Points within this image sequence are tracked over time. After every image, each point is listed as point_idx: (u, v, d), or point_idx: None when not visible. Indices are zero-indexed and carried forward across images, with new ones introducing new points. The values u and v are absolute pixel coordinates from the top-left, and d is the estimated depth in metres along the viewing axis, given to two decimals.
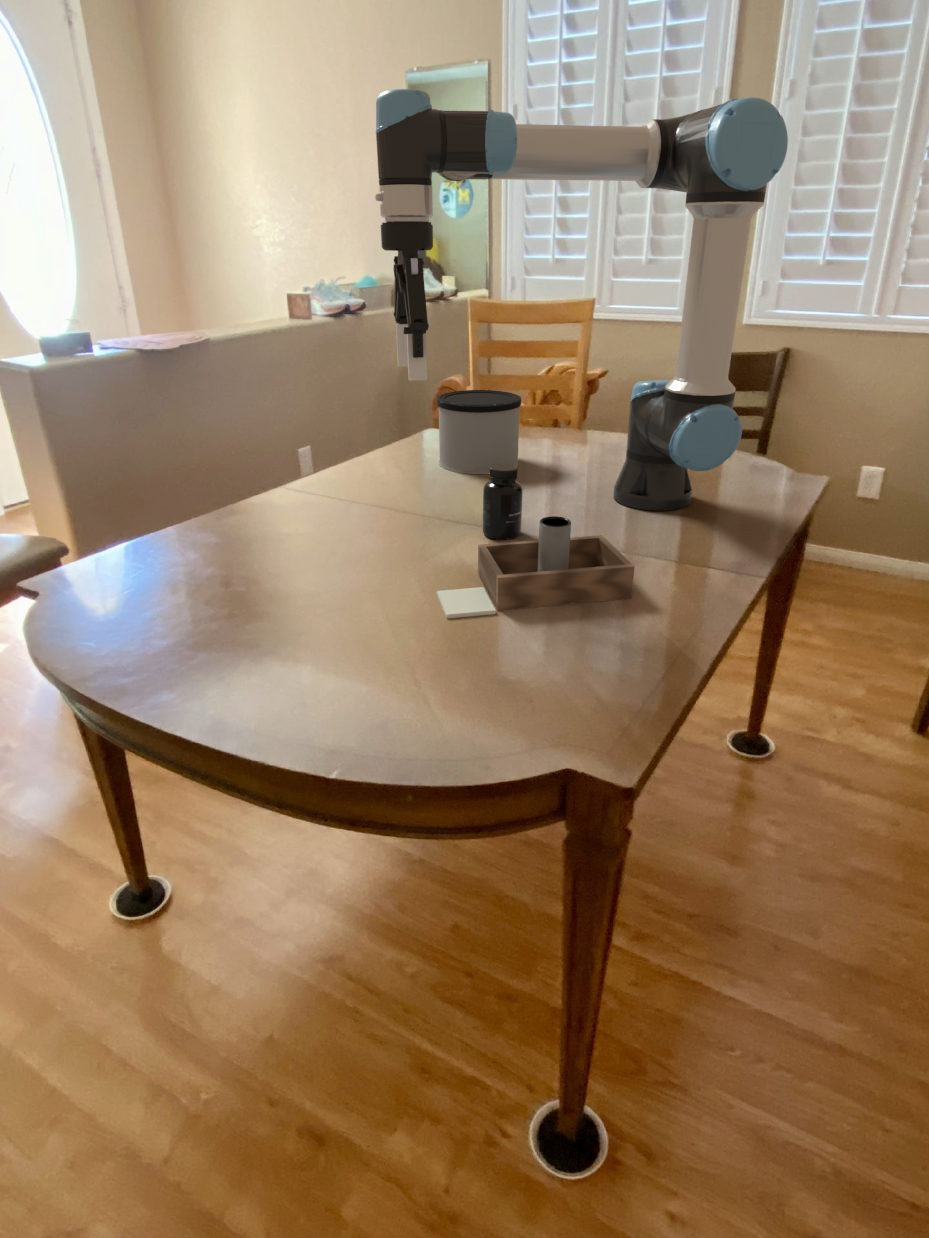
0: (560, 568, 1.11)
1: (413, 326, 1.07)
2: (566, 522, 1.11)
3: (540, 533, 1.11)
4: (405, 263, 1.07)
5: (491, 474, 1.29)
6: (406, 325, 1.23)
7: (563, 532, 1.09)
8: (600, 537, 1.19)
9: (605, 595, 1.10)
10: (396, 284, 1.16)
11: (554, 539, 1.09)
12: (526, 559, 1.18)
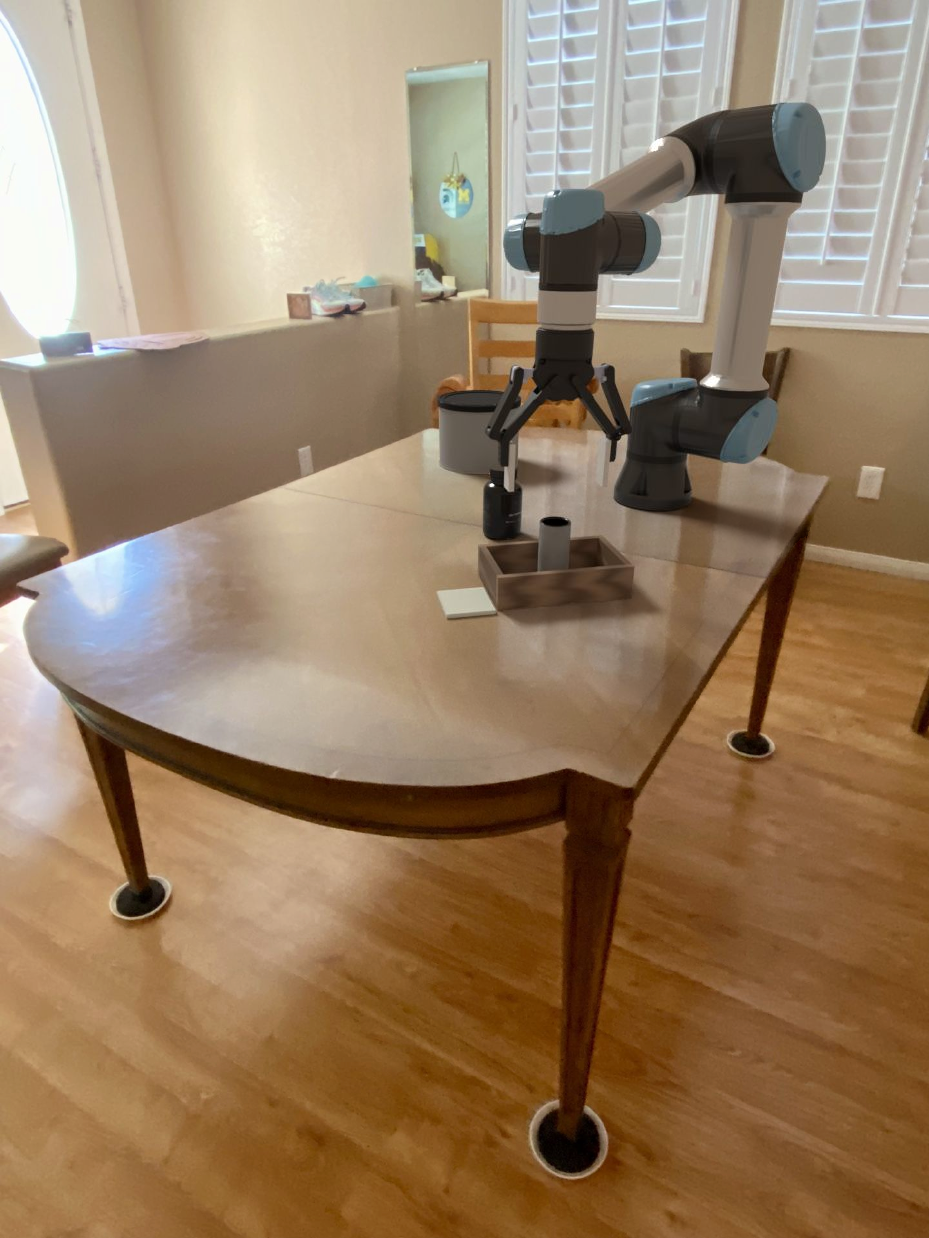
0: (560, 568, 1.11)
1: (485, 432, 1.03)
2: (566, 522, 1.11)
3: (540, 533, 1.11)
4: None
5: (491, 474, 1.29)
6: (603, 440, 1.06)
7: (563, 532, 1.09)
8: (600, 537, 1.19)
9: (605, 595, 1.10)
10: None
11: (554, 539, 1.09)
12: (526, 559, 1.18)
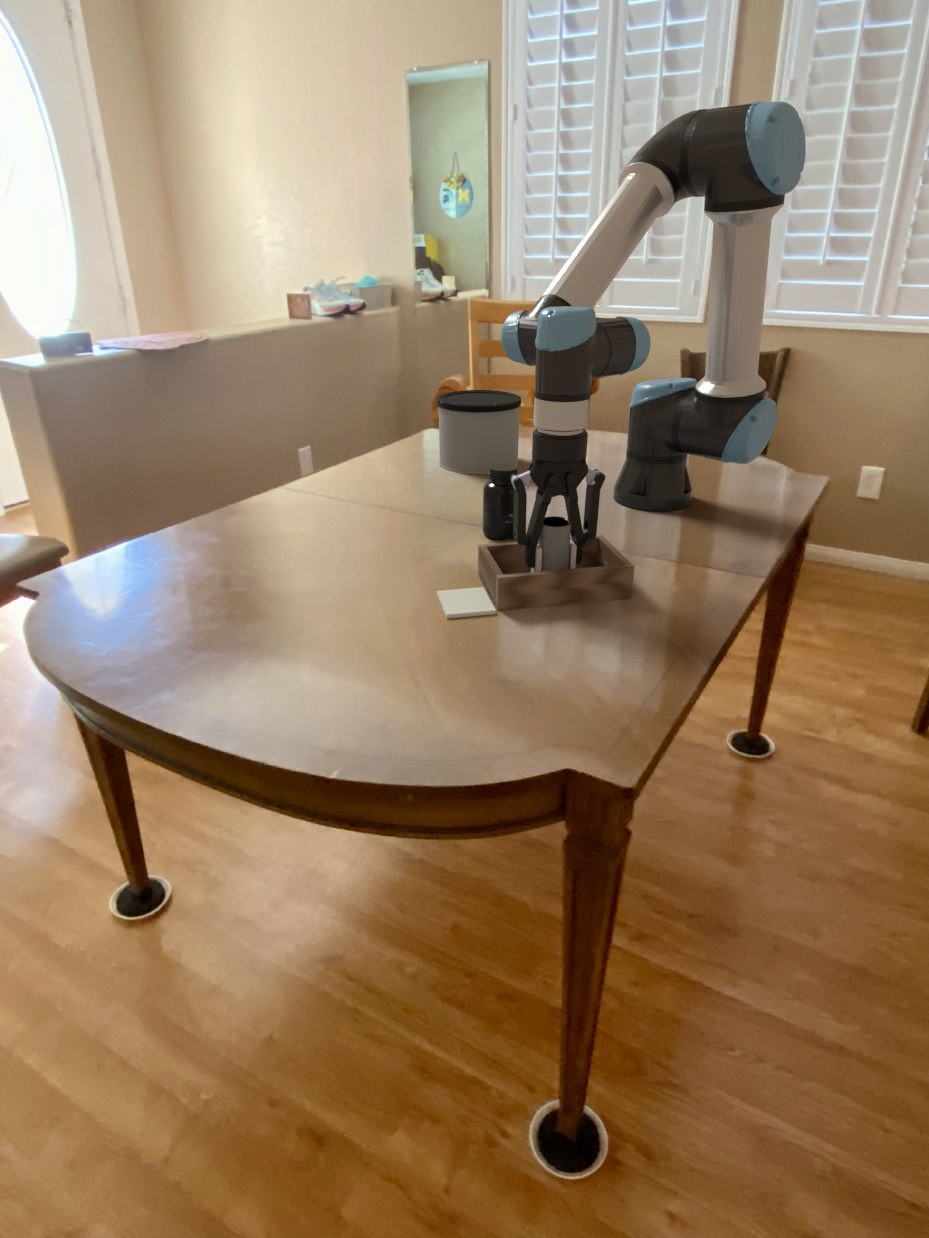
0: (560, 568, 1.11)
1: (514, 538, 1.11)
2: (566, 522, 1.11)
3: None
4: None
5: (491, 474, 1.29)
6: None
7: (563, 532, 1.09)
8: (600, 537, 1.19)
9: (605, 595, 1.10)
10: None
11: (554, 539, 1.09)
12: None
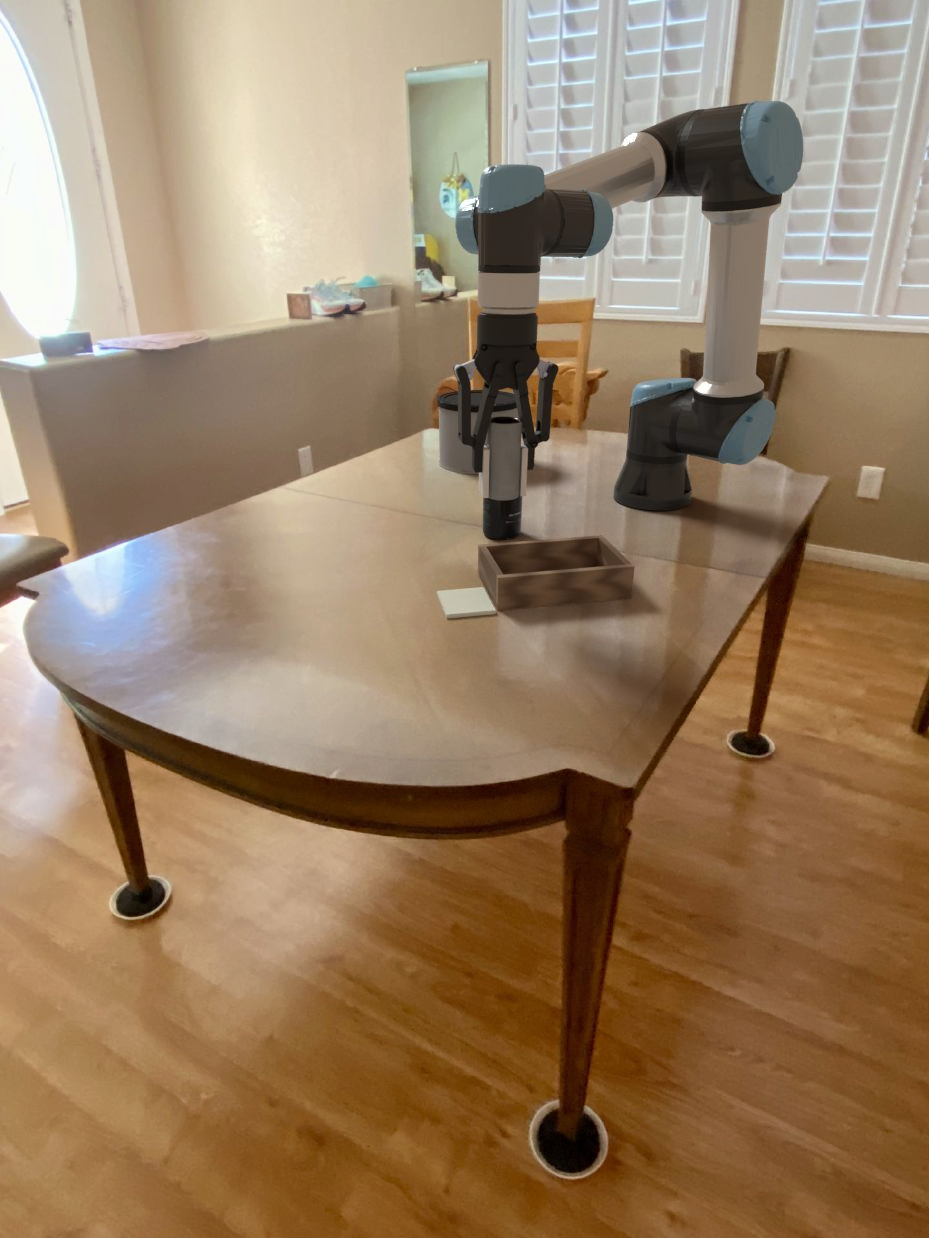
0: (510, 473, 1.01)
1: (459, 438, 1.01)
2: (517, 422, 1.01)
3: (488, 433, 1.00)
4: None
5: None
6: None
7: (513, 431, 0.99)
8: (600, 537, 1.19)
9: (605, 595, 1.10)
10: None
11: (503, 438, 0.99)
12: (526, 559, 1.18)
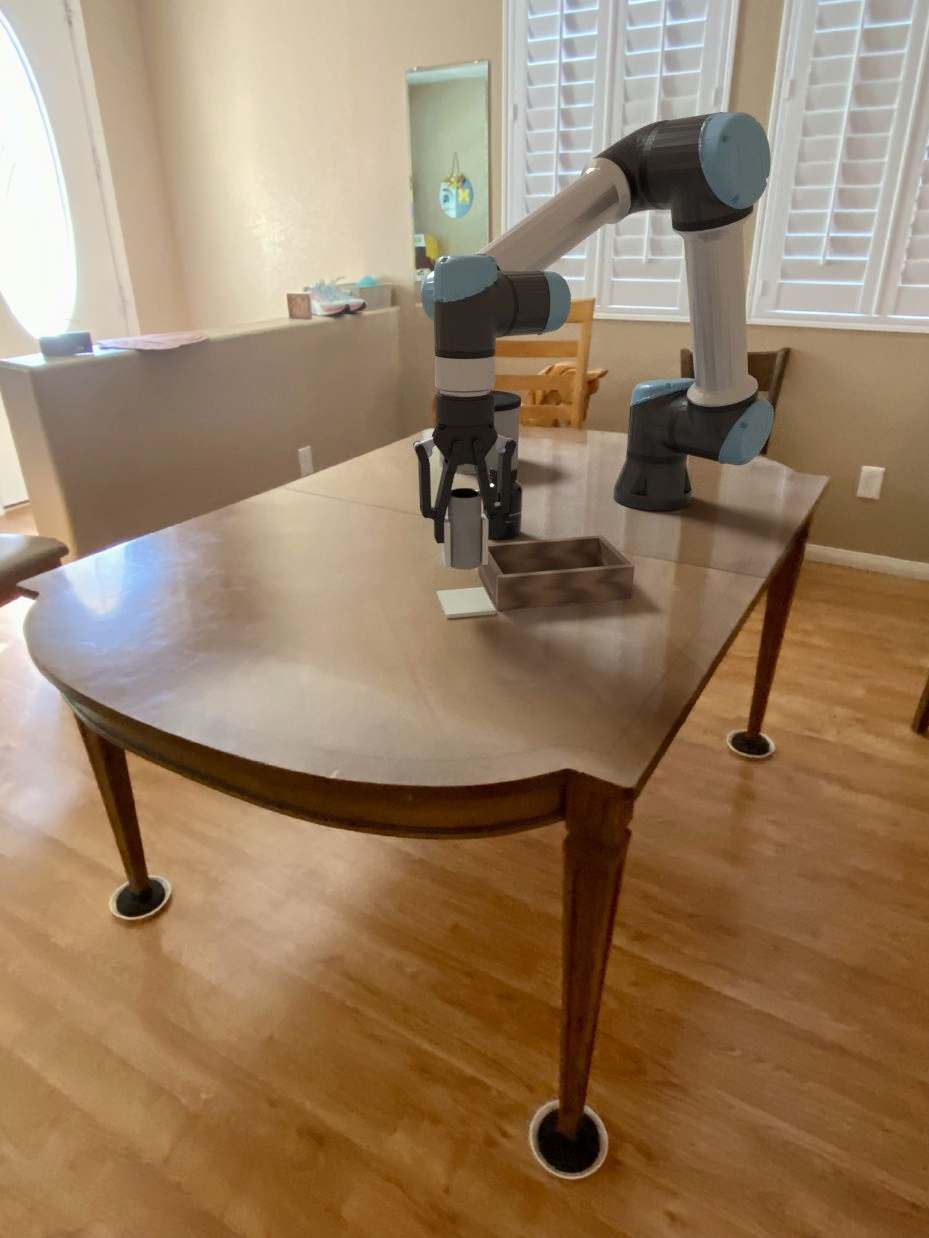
0: (470, 544, 1.03)
1: (421, 511, 1.03)
2: (477, 494, 1.03)
3: (448, 505, 1.02)
4: None
5: (491, 474, 1.29)
6: (481, 518, 1.04)
7: (472, 504, 1.01)
8: (600, 537, 1.19)
9: (605, 595, 1.10)
10: None
11: (462, 511, 1.01)
12: (526, 559, 1.18)
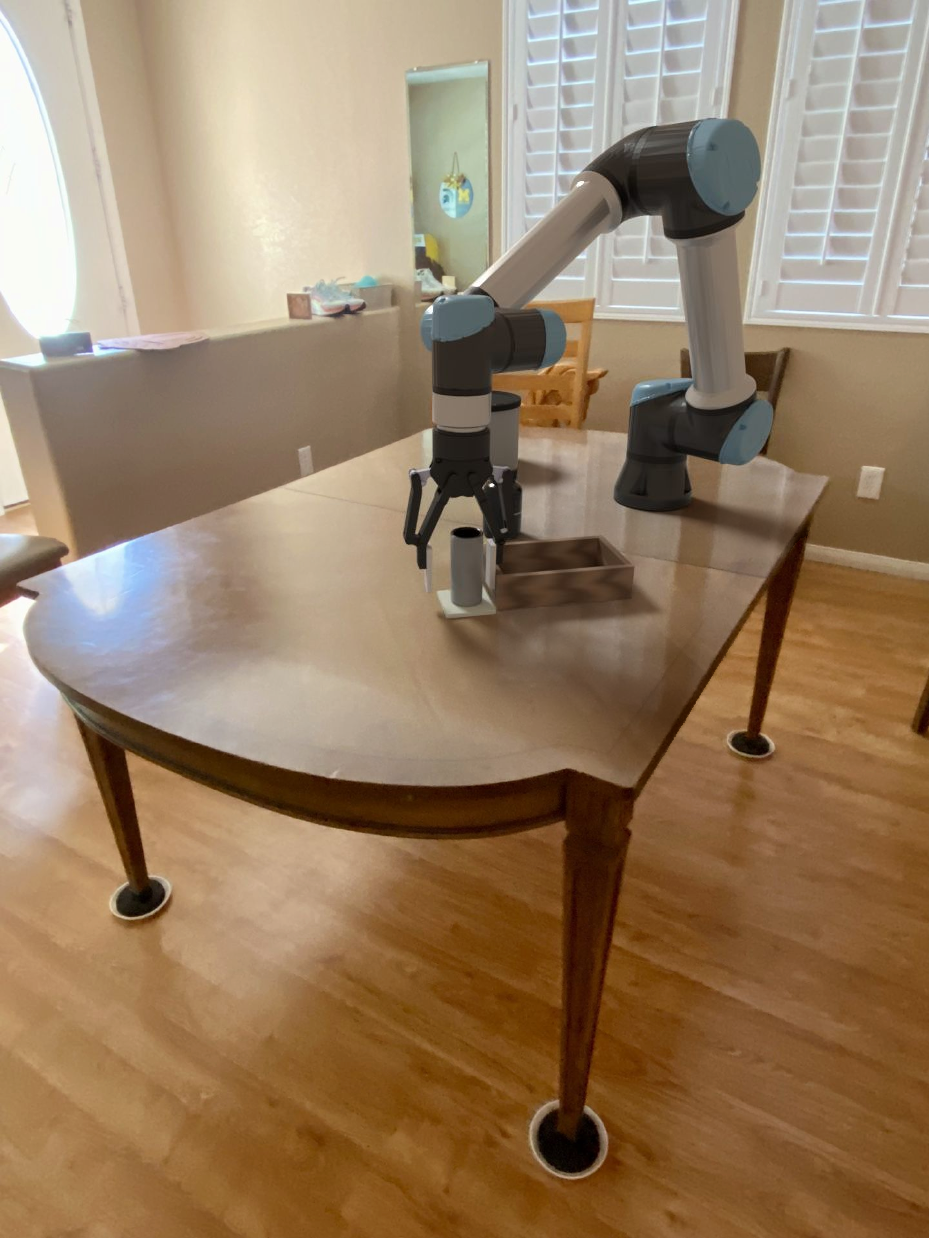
0: (472, 581, 1.06)
1: (403, 536, 1.04)
2: (479, 533, 1.05)
3: (451, 545, 1.05)
4: None
5: None
6: (489, 543, 1.06)
7: (474, 544, 1.03)
8: (600, 537, 1.19)
9: (605, 595, 1.10)
10: None
11: (464, 551, 1.03)
12: (526, 559, 1.18)
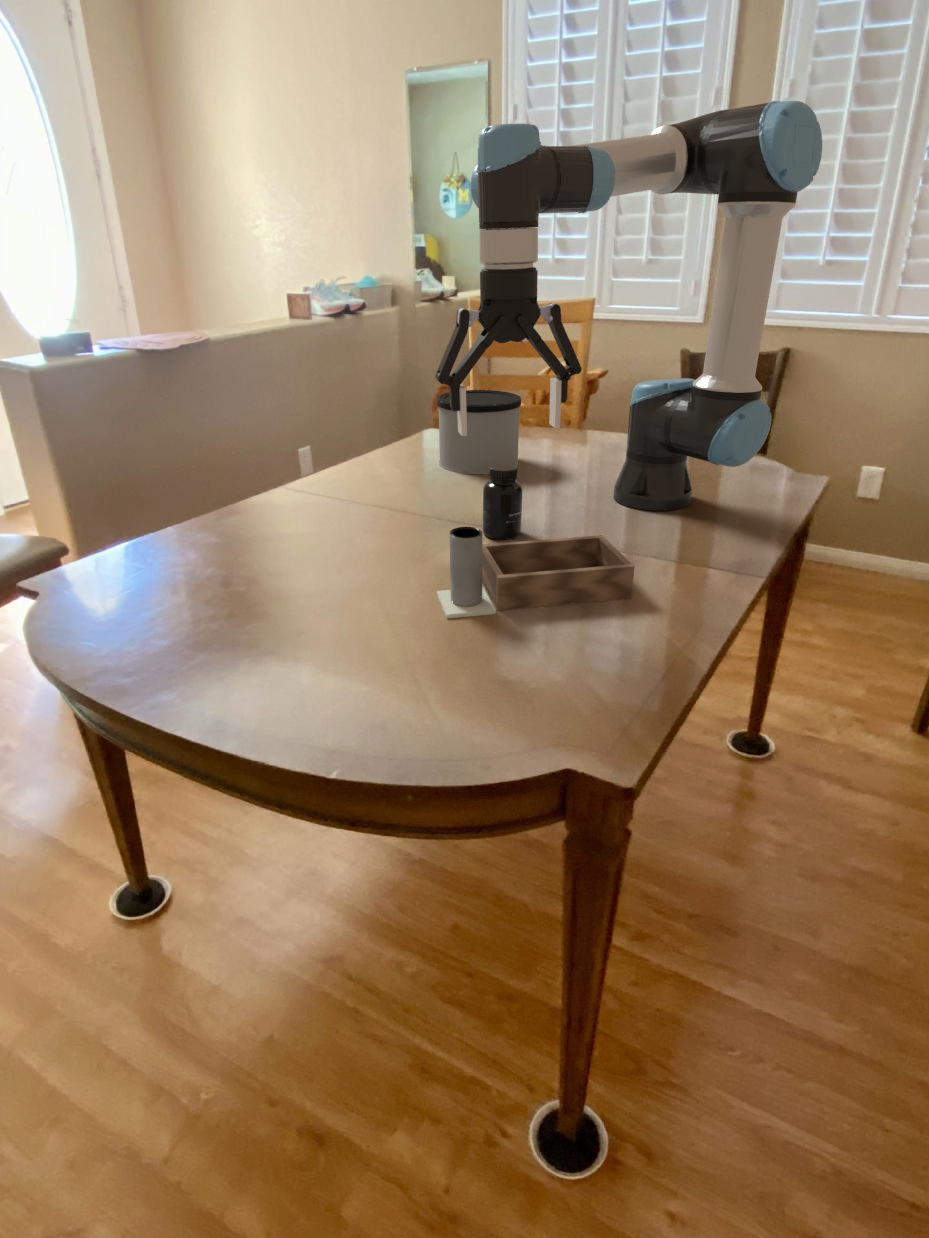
0: (472, 581, 1.06)
1: (436, 377, 1.04)
2: (478, 533, 1.05)
3: (450, 544, 1.05)
4: None
5: (491, 474, 1.29)
6: (553, 381, 1.07)
7: (473, 544, 1.03)
8: (600, 537, 1.19)
9: (605, 595, 1.10)
10: None
11: (464, 551, 1.04)
12: (526, 559, 1.18)
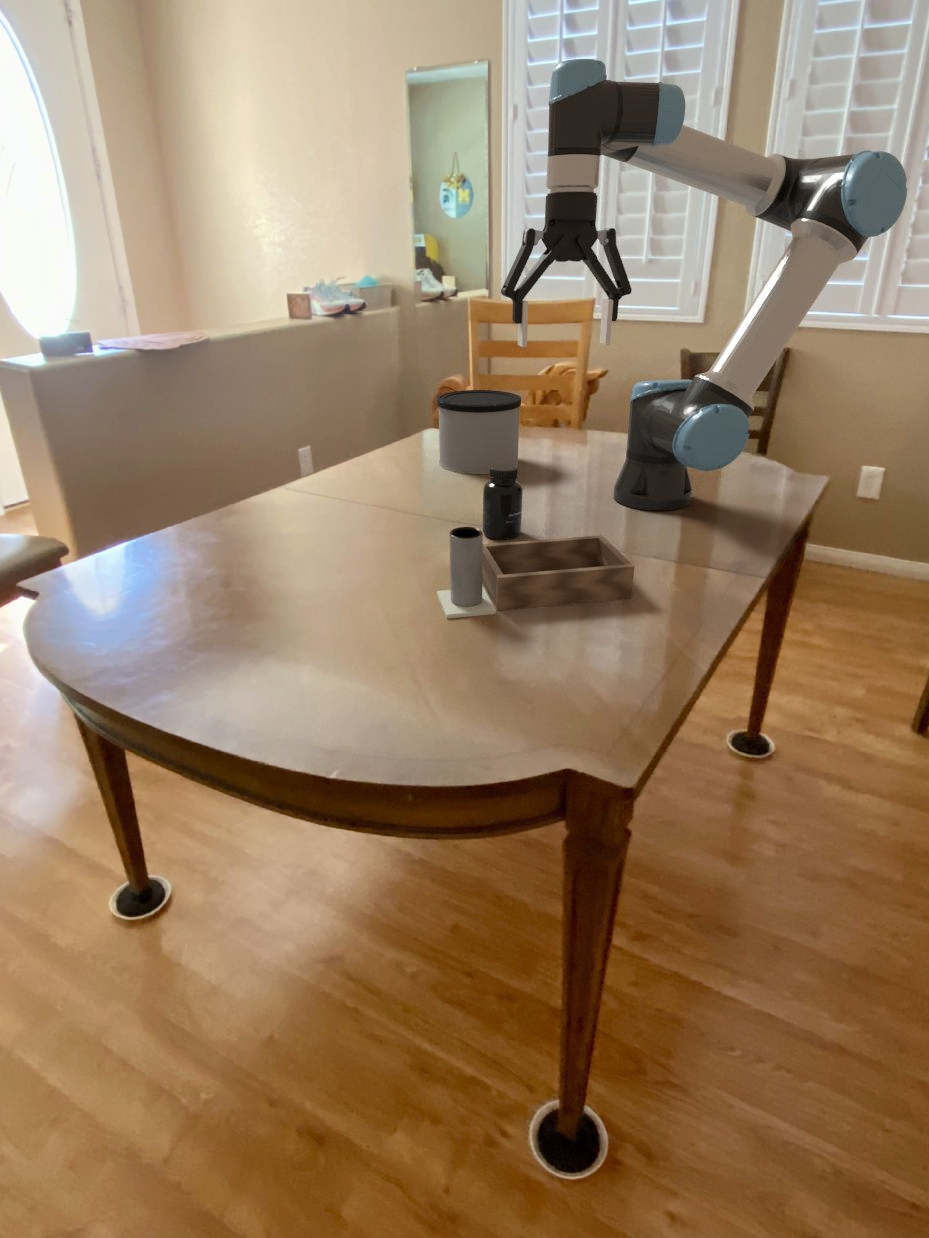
0: (472, 581, 1.06)
1: (501, 291, 1.16)
2: (478, 533, 1.05)
3: (450, 545, 1.05)
4: None
5: (491, 474, 1.29)
6: (606, 300, 1.19)
7: (474, 544, 1.03)
8: (600, 537, 1.19)
9: (605, 595, 1.10)
10: None
11: (464, 551, 1.03)
12: (526, 559, 1.18)
